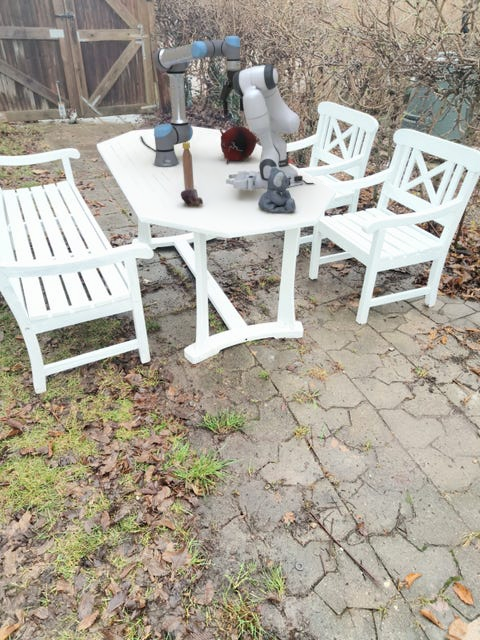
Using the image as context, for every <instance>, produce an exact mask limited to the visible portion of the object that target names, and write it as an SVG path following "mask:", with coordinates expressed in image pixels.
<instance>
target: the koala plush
mask: <svg viewBox="0 0 480 640" xmlns="http://www.w3.org/2000/svg"><path fill="white" fill-rule="evenodd" d="M288 186H290V181H289V180H288V178H287V176H286V175H285V174H284V172H283V171H282V170H279V169H278V168H277V167H272V168H271V170H270V175H269V178H268V188H267V190H266V191H265V192H263V194H262V195H261V196H260V197H259V200H258V203H257V205H258V206H259V208H260V209H261V210H264V211H266V212H268V213H283V214H285V213H286V214H288V213H293V212H295V211H296V207H297V206H296V202H295V199H294V198H292V195H291V192H290V190H288V188H289V187H288ZM290 187H291V186H290Z"/></svg>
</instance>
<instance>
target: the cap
mask: <svg viewBox="0 0 480 640" xmlns="http://www.w3.org/2000/svg"><path fill="white" fill-rule="evenodd" d="M181 144H182V149H183V150H184V149H188V148H189V149H190V148H191V142H190V141H188V142H183V143H181Z"/></svg>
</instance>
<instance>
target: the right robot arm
mask: <svg viewBox="0 0 480 640" xmlns="http://www.w3.org/2000/svg"><path fill="white" fill-rule="evenodd" d="M239 70H240V71H238V72H236V73H235V74H234V76H233V87H234V89H233V90H234V92H235V94H237V95H238V96H239V98H242V99H243V107H244V111H243V114H244V117H245V122H246V124H247V127H248V130H249V131H251V132H252V133H253V134H256V135H257V136H258V139H259V142H260V146H261V155H260V160H259V165H258V167H259V171H255V170H253V171H242V170H241V171H238V172H237V173H234V174H229V175H228V179H226V180H225V184H226V185H228V184H229V185H231V186H232V187H233V189H237V190H247V191H250V192H251V191H253V190H261V189H263V190H266V191H267V188H268V178H269V175H270V170H271V168H272V167H277V168H278V169H279V170H282V171H283V172H284V174H285V175H286V176H287V178H288V180H289V181H290V186H288V188H289V187H290V188H291V187H294V186H296V187H297V186H301V185H303V183H304V184H305V185H314V184H315V183H314V182H307V181H306V180H304V179H303V177H304V176H303V175H299V173H298V171H297V169H295V168H294V167H293V166H291V165H290V164H293V160H292V159H291V158H290V159H289V158H288V157H287V151H288V144H287V141H285V139H283V138H282V135H281V134H284V135H285V134H286V135H287V134H288V135H289V134H295V133H297V131H298V129H299V128H300V125H301V118H300V116H299V114H298V113H296V112H294V111H293V110H292V109H291V108H290V107H289V106H288V105H287V104H286V102H285V101H284V100H283V98H282V95H281V92H280V90H279V87H278V83H279V72H278V70H277V67H276V66H274V65H273V64H271V63H270V64H264V65H255V66H252V67H248V68H245V69H242V70H241V69H239Z"/></svg>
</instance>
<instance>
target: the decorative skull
mask: <svg viewBox="0 0 480 640" xmlns="http://www.w3.org/2000/svg"><path fill="white" fill-rule="evenodd" d="M219 132H220V134H221V135H220V149H221V152H222V154H223V156H224V158H225V159H226V164H229V162H230V161H232V162H233V161H234V162H235V161H236V162H241V161H244V160H246V159H249V157H251V156H252V154H253V153H254V150H255V148H256V146H257V137H256V136H255V135H254V134H255V133H253V132H252V131H250V129H249V128H247V127H244V126H241V125H240V126H239V125H237V126H233V127H230V128H229V129H227V130H225V131H223V130H222V129H219Z"/></svg>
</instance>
